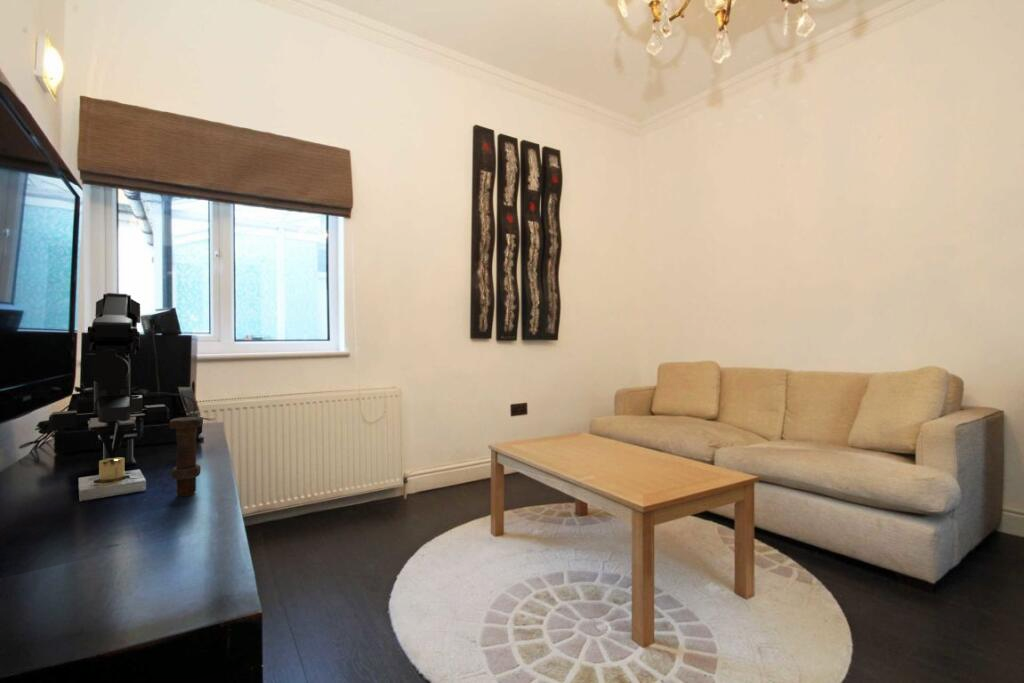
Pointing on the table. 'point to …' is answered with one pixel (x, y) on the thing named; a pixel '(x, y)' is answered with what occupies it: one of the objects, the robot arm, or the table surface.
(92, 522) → the table surface
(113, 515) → the table surface
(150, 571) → the table surface
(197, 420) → the bolt
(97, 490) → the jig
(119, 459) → the bushing
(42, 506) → the table surface
